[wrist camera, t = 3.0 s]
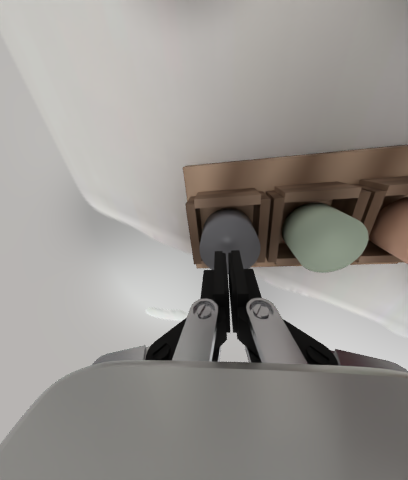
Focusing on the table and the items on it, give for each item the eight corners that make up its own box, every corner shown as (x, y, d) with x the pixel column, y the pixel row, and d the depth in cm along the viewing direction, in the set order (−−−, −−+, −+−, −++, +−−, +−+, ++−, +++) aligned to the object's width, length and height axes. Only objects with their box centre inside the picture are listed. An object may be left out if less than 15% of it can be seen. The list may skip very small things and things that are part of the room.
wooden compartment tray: (435, 142, 15) (523, 138, 11) (382, 253, 21) (426, 281, 16) (186, 165, 18) (175, 170, 13) (198, 259, 23) (193, 284, 19)
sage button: (344, 200, 14) (379, 214, 11) (330, 249, 16) (355, 271, 13) (285, 204, 15) (302, 218, 12) (278, 250, 17) (292, 273, 14)
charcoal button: (253, 206, 15) (262, 220, 12) (251, 251, 17) (258, 273, 14) (200, 209, 16) (196, 224, 12) (205, 253, 18) (202, 274, 15)
